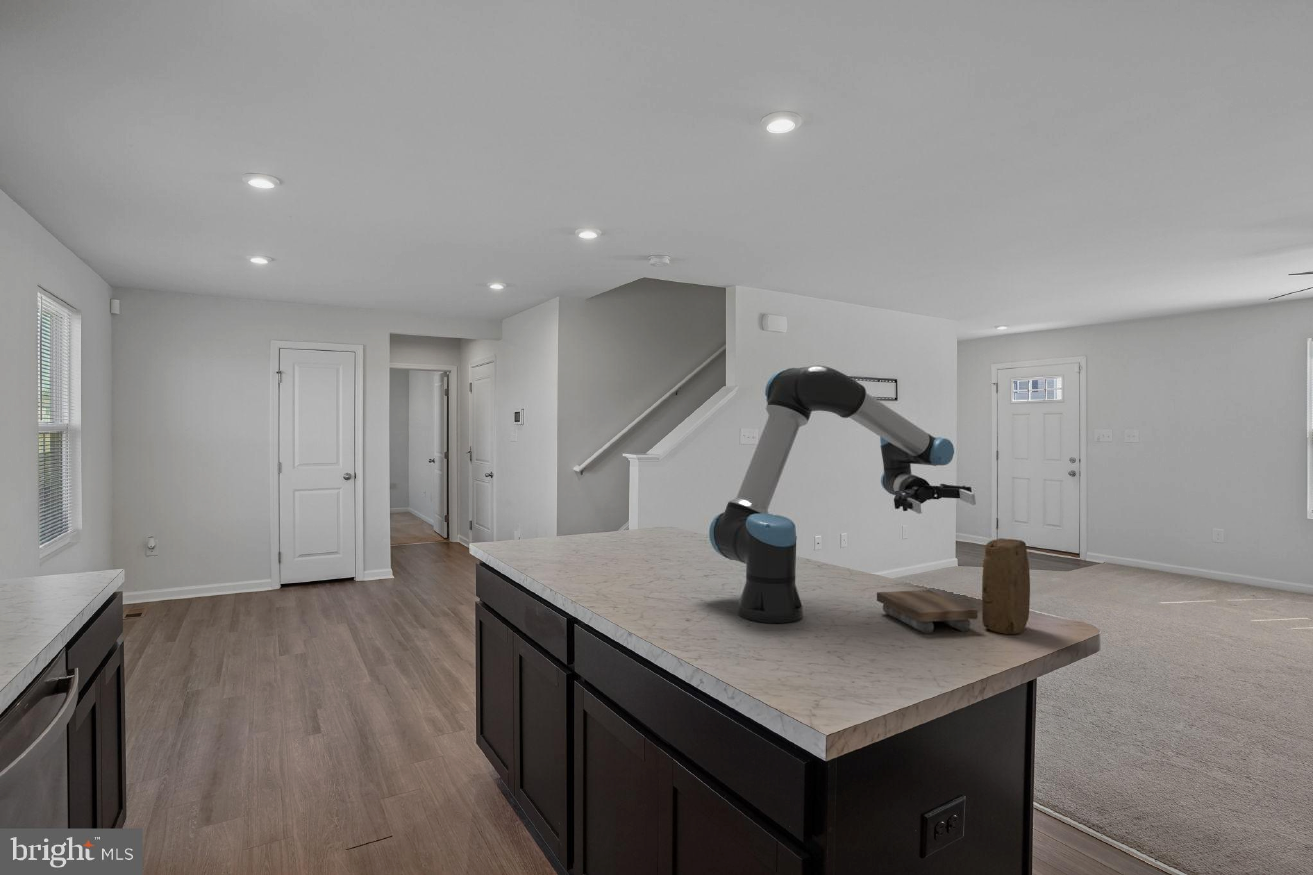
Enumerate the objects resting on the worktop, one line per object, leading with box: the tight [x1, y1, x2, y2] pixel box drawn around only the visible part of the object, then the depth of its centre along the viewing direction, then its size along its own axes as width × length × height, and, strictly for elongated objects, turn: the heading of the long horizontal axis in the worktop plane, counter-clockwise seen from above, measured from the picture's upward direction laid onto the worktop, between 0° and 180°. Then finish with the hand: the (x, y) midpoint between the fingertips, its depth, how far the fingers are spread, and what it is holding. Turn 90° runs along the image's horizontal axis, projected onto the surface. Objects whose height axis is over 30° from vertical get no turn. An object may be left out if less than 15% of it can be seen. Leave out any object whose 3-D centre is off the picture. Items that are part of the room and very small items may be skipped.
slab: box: [876, 589, 979, 635], centre depth 155 cm, size 14×18×5 cm
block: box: [981, 538, 1031, 635], centre depth 150 cm, size 11×8×20 cm
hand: (946, 503), depth 166 cm, fingers open, 13 cm apart
